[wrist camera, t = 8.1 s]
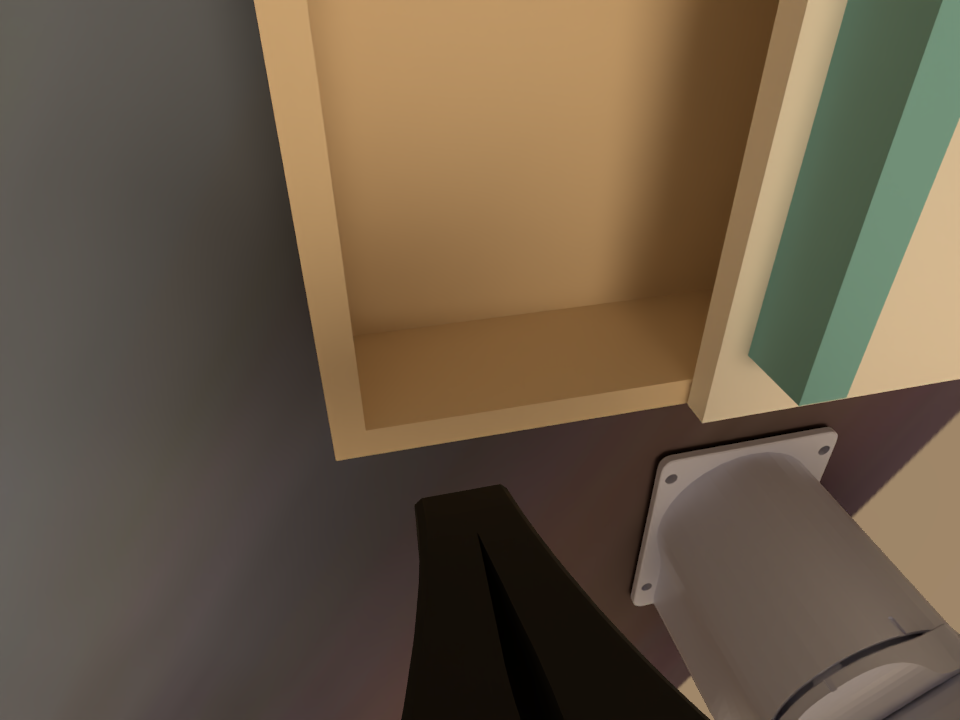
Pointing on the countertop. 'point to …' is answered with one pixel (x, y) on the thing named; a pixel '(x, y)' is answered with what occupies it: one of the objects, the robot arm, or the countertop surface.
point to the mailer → (508, 201)
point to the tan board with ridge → (842, 214)
